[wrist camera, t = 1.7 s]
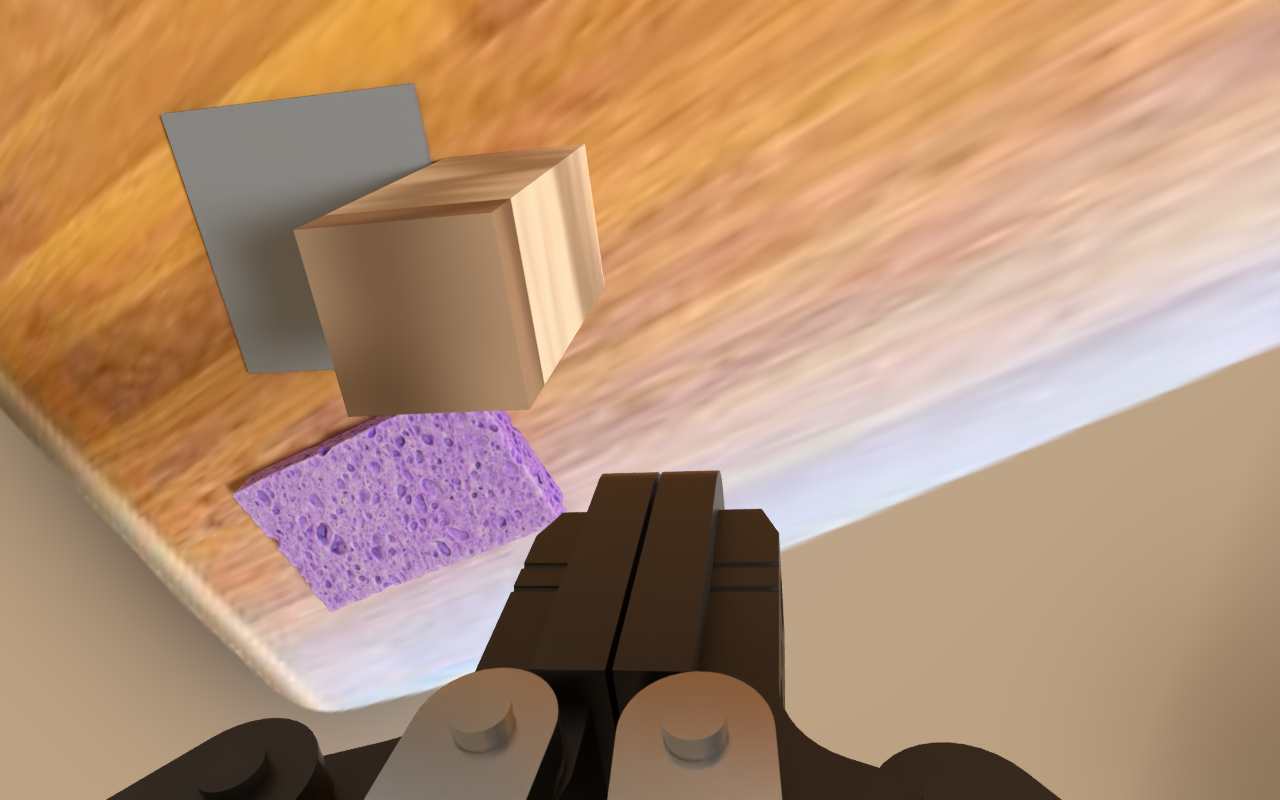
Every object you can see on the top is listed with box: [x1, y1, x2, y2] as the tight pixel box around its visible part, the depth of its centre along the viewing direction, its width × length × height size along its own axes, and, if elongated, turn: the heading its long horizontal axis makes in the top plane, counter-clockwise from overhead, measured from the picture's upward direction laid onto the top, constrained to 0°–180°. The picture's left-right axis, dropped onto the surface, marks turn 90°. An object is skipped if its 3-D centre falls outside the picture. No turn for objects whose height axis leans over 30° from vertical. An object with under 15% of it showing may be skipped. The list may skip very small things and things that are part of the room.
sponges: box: [232, 410, 567, 612], centre depth 35 cm, size 7×13×2 cm, turn 119°
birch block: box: [294, 144, 605, 417], centre depth 25 cm, size 5×5×10 cm
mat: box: [160, 83, 432, 374], centre depth 31 cm, size 10×10×1 cm
